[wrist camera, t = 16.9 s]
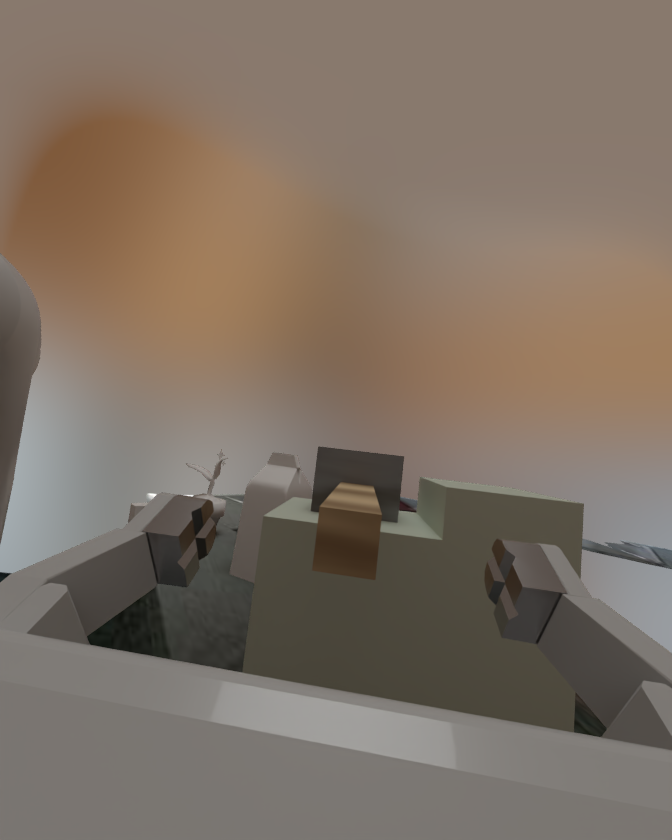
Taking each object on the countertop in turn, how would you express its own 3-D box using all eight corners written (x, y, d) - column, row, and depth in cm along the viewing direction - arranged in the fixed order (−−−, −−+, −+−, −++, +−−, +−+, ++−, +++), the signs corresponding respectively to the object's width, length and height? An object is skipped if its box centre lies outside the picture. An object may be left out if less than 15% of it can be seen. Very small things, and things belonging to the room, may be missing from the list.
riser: (566, 896, 22) (583, 503, 25) (222, 820, 25) (270, 465, 27) (495, 743, 34) (511, 487, 37) (267, 701, 36) (297, 462, 39)
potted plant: (226, 532, 101) (238, 449, 103) (213, 542, 89) (227, 449, 92) (185, 527, 101) (197, 444, 103) (166, 537, 89) (181, 443, 92)
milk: (229, 574, 70) (246, 449, 72) (264, 561, 80) (278, 452, 82) (275, 590, 64) (292, 455, 67) (307, 574, 74) (321, 457, 77)
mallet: (429, 588, 15) (441, 457, 16) (260, 563, 16) (277, 438, 17) (392, 511, 36) (397, 456, 37) (319, 502, 37) (325, 448, 37)
